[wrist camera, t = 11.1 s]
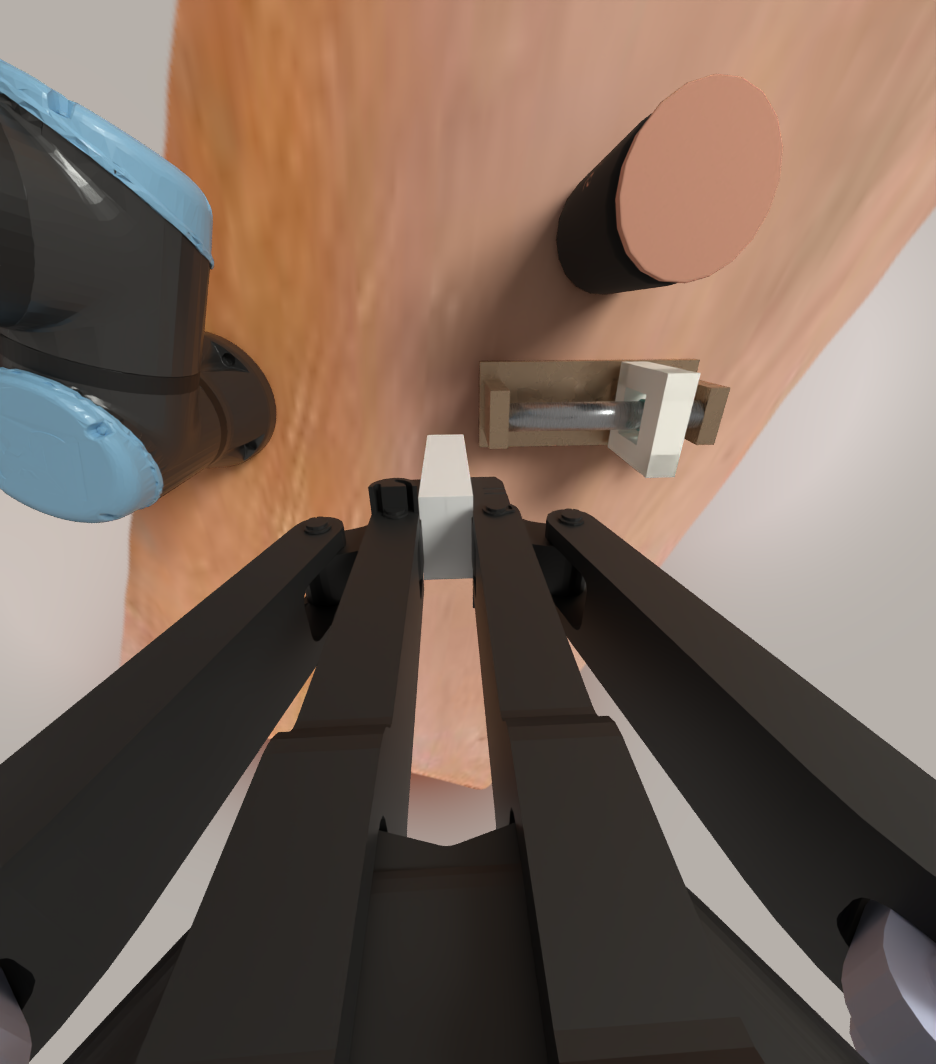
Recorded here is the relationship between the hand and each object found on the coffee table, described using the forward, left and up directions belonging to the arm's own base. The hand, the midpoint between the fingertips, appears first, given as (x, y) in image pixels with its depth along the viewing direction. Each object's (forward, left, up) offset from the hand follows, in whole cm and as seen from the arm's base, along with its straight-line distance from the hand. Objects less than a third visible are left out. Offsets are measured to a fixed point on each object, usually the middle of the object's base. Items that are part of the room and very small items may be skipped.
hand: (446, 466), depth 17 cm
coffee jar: (+17, +13, -35) cm, 41 cm away
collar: (+22, -4, -32) cm, 39 cm away
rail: (+17, -4, -34) cm, 39 cm away
